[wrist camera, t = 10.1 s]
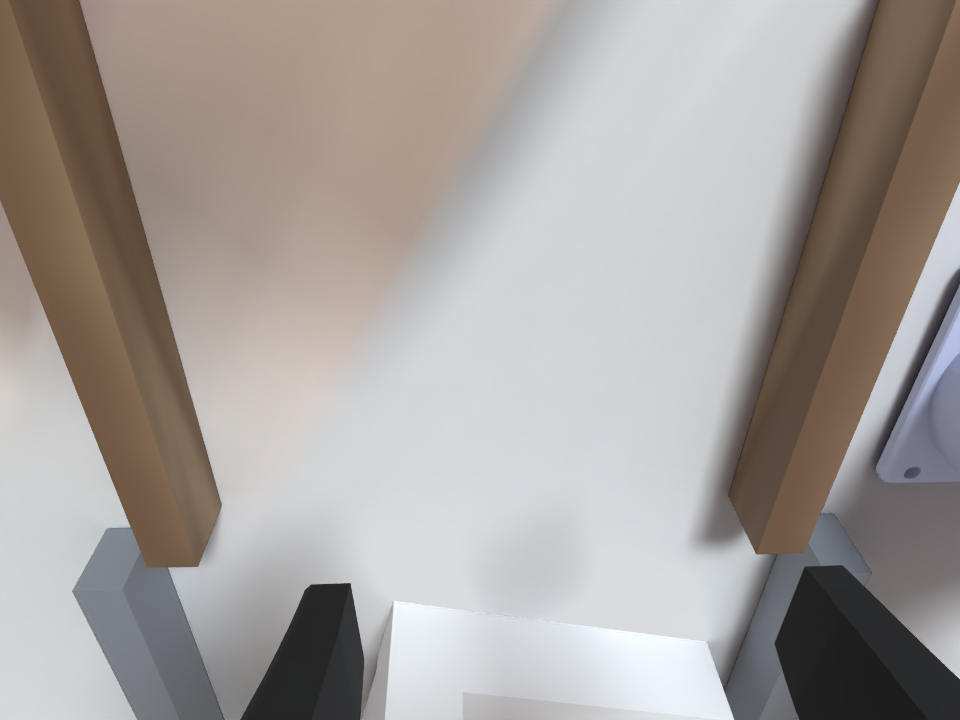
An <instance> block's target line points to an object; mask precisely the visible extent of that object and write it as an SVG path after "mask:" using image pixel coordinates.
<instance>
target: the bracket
mask: <svg viewBox="0 0 960 720" xmlns="http://www.w3.org/2000/svg"><path fill="white" fill-rule="evenodd" d="M362 720H734V718H733V715H732V712H731V709H730V706H729V704H728V701H727V698H726V695H725V692H724V690H723V687H722V684H721V681H720V678H719V676H718V673H717V670H716V667H715V664H714V661H713V659H712V656H711V653H710V650H709V647H708V645H707V642H704V641H696V640H688V639H681V638H673V637H665V636H658V635H650V634H642V633H635V632H627V631H620V630H612V629H604V628H597V627H589V626H581V625H574V624H566V623H558V622H551V621H543V620H535V619H528V618H520V617H512V616H505V615H497V614H489V613H482V612H474V611H466V610H459V609H451V608H443V607H436V606H428V605H421V604H413V603H405V602H398V601H394V603H393V606H392V610H391V613H390V616H389V619H388V623H387V626H386V629H385V633H384V636H383V639H382V643H381V646H380V649H379V653H378V658H377V669H376V673H375V677H374V680H373V683H372V687H371V690H370V693H369V696H368V700H367V703H366V706H365V710H364V713H363V716H362Z"/></svg>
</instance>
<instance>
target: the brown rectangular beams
mask: <svg viewBox="0 0 960 720" xmlns="http://www.w3.org/2000/svg"><path fill="white" fill-rule="evenodd" d="M959 182H960V0H879V3H878V6H877V9H876V13H875V16H874V19H873V23H872V26H871V29H870V32H869V36H868V39H867V42H866V46H865V49H864V52H863V55H862V59H861V62H860V65H859V69H858V72H857V75H856V78H855V82H854V85H853V88H852V92H851V95H850V98H849V101H848V105H847V108H846V111H845V115H844V118H843V121H842V124H841V128H840V131H839V134H838V138H837V141H836V144H835V147H834V151H833V154H832V157H831V161H830V164H829V167H828V170H827V174H826V177H825V180H824V184H823V187H822V190H821V193H820V197H819V200H818V203H817V207H816V210H815V213H814V216H813V220H812V223H811V226H810V229H809V233H808V236H807V239H806V243H805V246H804V249H803V252H802V256H801V259H800V262H799V266H798V269H797V272H796V275H795V279H794V282H793V285H792V289H791V292H790V295H789V298H788V302H787V305H786V308H785V312H784V315H783V318H782V321H781V325H780V328H779V331H778V335H777V338H776V341H775V344H774V348H773V351H772V354H771V358H770V361H769V364H768V367H767V371H766V374H765V377H764V381H763V384H762V387H761V390H760V394H759V397H758V400H757V404H756V407H755V410H754V413H753V417H752V420H751V423H750V427H749V430H748V433H747V436H746V440H745V443H744V446H743V450H742V453H741V456H740V459H739V463H738V466H737V469H736V473H735V476H734V479H733V482H732V486H731V489H730V492H729V498H730V500H731V502H732V504H733V507H734V509H735V511H736V513H737V515H738V517H739V519H740V521H741V523H742V525H743V527H744V530H745V532H746V534H747V536H748V538H749V540H750V542H751V544H752V546H753V548H754V551H755V553H756V554H796V553H804V552H805V550H806V547H807V545H808V542H809V540H810V538H811V535H812V533H813V530H814V528H815V526H816V523H817V521H818V519H819V516H820V514H821V511H822V509H823V507H824V504H825V502H826V499H827V497H828V495H829V492H830V490H831V488H832V485H833V483H834V480H835V478H836V476H837V473H838V471H839V468H840V466H841V464H842V461H843V459H844V457H845V454H846V452H847V449H848V447H849V445H850V442H851V440H852V437H853V435H854V433H855V430H856V428H857V426H858V423H859V421H860V418H861V416H862V414H863V411H864V409H865V406H866V404H867V402H868V399H869V397H870V394H871V392H872V390H873V387H874V385H875V383H876V380H877V378H878V375H879V373H880V371H881V368H882V366H883V363H884V361H885V359H886V356H887V354H888V352H889V349H890V347H891V344H892V342H893V340H894V337H895V335H896V332H897V330H898V328H899V325H900V323H901V321H902V318H903V316H904V313H905V311H906V309H907V306H908V304H909V301H910V299H911V297H912V294H913V292H914V290H915V287H916V285H917V282H918V280H919V278H920V275H921V273H922V270H923V268H924V266H925V263H926V261H927V259H928V256H929V254H930V251H931V249H932V247H933V244H934V242H935V239H936V237H937V235H938V232H939V230H940V228H941V225H942V223H943V220H944V218H945V216H946V213H947V211H948V208H949V206H950V204H951V201H952V199H953V197H954V194H955V192H956V189H957V187H958V185H959ZM0 200H1V203H2V205H3V208H4V210H5V213H6V215H7V218H8V220H9V223H10V225H11V228H12V230H13V233H14V235H15V238H16V240H17V243H18V245H19V248H20V251H21V253H22V256H23V258H24V261H25V263H26V266H27V268H28V271H29V273H30V276H31V278H32V281H33V283H34V286H35V288H36V291H37V293H38V296H39V298H40V301H41V303H42V306H43V308H44V311H45V313H46V316H47V318H48V321H49V323H50V326H51V328H52V331H53V333H54V336H55V338H56V341H57V343H58V346H59V348H60V351H61V353H62V356H63V358H64V361H65V363H66V366H67V368H68V371H69V373H70V376H71V378H72V381H73V383H74V386H75V388H76V391H77V393H78V396H79V398H80V401H81V403H82V406H83V408H84V411H85V413H86V416H87V419H88V421H89V424H90V426H91V429H92V431H93V434H94V436H95V439H96V441H97V444H98V446H99V449H100V451H101V454H102V456H103V459H104V461H105V464H106V466H107V469H108V471H109V474H110V476H111V479H112V481H113V484H114V486H115V489H116V491H117V494H118V496H119V499H120V501H121V504H122V506H123V509H124V511H125V514H126V516H127V519H128V521H129V524H130V526H131V529H132V531H133V534H134V536H135V539H136V541H137V544H138V546H139V549H140V551H141V554H142V556H143V559H144V561H145V564H146V566H147V568H159V567H198V565H199V563H200V560H201V558H202V555H203V552H204V550H205V547H206V545H207V542H208V539H209V537H210V534H211V532H212V529H213V526H214V524H215V521H216V518H217V516H218V513H219V511H220V508H221V501H220V498H219V494H218V491H217V487H216V484H215V480H214V477H213V473H212V470H211V466H210V462H209V459H208V455H207V452H206V448H205V445H204V441H203V438H202V434H201V431H200V427H199V424H198V420H197V417H196V413H195V409H194V406H193V402H192V399H191V395H190V392H189V388H188V385H187V381H186V378H185V374H184V371H183V367H182V363H181V360H180V356H179V353H178V349H177V346H176V342H175V339H174V335H173V332H172V328H171V325H170V321H169V318H168V314H167V310H166V307H165V303H164V300H163V296H162V293H161V289H160V286H159V282H158V279H157V275H156V272H155V268H154V264H153V261H152V257H151V254H150V250H149V247H148V243H147V240H146V236H145V233H144V229H143V226H142V222H141V219H140V215H139V211H138V208H137V204H136V201H135V197H134V194H133V190H132V187H131V183H130V180H129V176H128V173H127V169H126V165H125V162H124V158H123V155H122V151H121V148H120V144H119V141H118V137H117V134H116V130H115V127H114V123H113V120H112V116H111V112H110V109H109V105H108V102H107V98H106V95H105V91H104V88H103V84H102V81H101V77H100V74H99V70H98V66H97V63H96V59H95V56H94V52H93V49H92V45H91V42H90V38H89V35H88V31H87V28H86V24H85V21H84V17H83V13H82V10H81V6H80V3H79V0H0Z"/></svg>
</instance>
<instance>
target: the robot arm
mask: <svg viewBox="0 0 960 720" xmlns="http://www.w3.org/2000/svg"><path fill="white" fill-rule="evenodd" d="M876 472H877V474H878V476H879V477H880V478H881V480H882V481H884V482H886V483H936V482H960V285H959V287H958V290H957V292H956V294H955V296H954V298H953V300H952V303H951V305H950V307H949V309H948V311H947V314H946V316H945V318H944V320H943V322H942V324H941V327H940V329H939V331H938V333H937V335H936V337H935V340H934V342H933V344H932V346H931V348H930V351H929V353H928V355H927V357H926V359H925V361H924V364H923V366H922V368H921V370H920V372H919V374H918V377H917V379H916V381H915V383H914V385H913V388H912V390H911V392H910V394H909V396H908V398H907V401H906V403H905V405H904V407H903V409H902V411H901V414H900V416H899V418H898V420H897V422H896V425H895V427H894V429H893V431H892V433H891V435H890V438H889V440H888V442H887V444H886V446H885V449H884V451H883V453H882V455H881V457H880V459H879V462H878V464H877V466H876ZM774 644H775V647H776V651H777V654H778V657H779V661H780V664H781V667H782V671H783V674H784V677H785V680H786V683H787V686H788V689H789V692H790V695H791V698H792V701H793V704H794V707H795V710H796V713H797V715H798V717H799V720H960V679H959V678H958V677H957V676H956V675H955V674H953V673H952V672H951V671H950V670H949V669H948V668H947V667H946V666H945V665H944V664H943V663H942V662H941V661H940V660H939V659H938V658H937V657H936V656H935V655H934V654H933V653H931V652H930V651H929V650H928V649H927V648H926V647H925V646H924V645H923V644H922V643H921V642H920V641H919V640H918V639H917V638H916V637H915V636H914V635H913V634H912V633H911V632H910V631H909V630H908V629H907V628H906V627H905V626H904V625H903V624H902V623H901V622H900V621H899V620H898V619H897V618H896V617H895V616H894V615H893V614H892V613H891V612H890V611H889V610H888V609H887V608H886V607H885V606H884V605H883V604H882V603H881V602H880V601H879V600H878V599H877V598H875V597H874V596H873V595H872V594H871V593H870V592H869V591H868V590H867V589H866V588H865V587H864V586H863V585H862V584H861V583H860V582H859V581H858V580H857V579H856V578H855V577H854V576H853V575H852V574H851V573H850V572H849V571H848V570H847V569H846V568H845V567H844V566H843V565H832V566H805V567H804V569H803V572H802V574H801V577H800V580H799V582H798V585H797V587H796V590H795V592H794V595H793V597H792V600H791V602H790V605H789V607H788V610H787V613H786V615H785V618H784V620H783V623H782V625H781V628H780V630H779V633H778V635H777V638H776V640H775V643H774ZM363 671H364V656H363V650H362V644H361V639H360V633H359V628H358V622H357V617H356V611H355V606H354V600H353V595H352V589H351V584H350V583H344V584H317V585H310V586H309V587H308V588H307V589H306V590H305V591H304V594H303V596H302V599H301V601H300V603H299V606H298V608H297V610H296V613H295V615H294V617H293V619H292V621H291V624H290V626H289V628H288V630H287V632H286V634H285V636H284V638H283V640H282V642H281V645H280V647H279V649H278V651H277V652H276V654H275V656H274V658H273V660H272V662H271V664H270V666H269V668H268V670H267V672H266V674H265V676H264V678H263V680H262V682H261V683H260V685H259V687H258V689H257V691H256V692H255V694H254V696H253V698H252V700H251V701H250V703H249V705H248V707H247V709H246V711H245V712H244V714H243V716H242V718H241V720H360V714H361V701H362V686H363Z"/></svg>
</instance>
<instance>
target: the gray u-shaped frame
mask: <svg viewBox="0 0 960 720" xmlns="http://www.w3.org/2000/svg"><path fill="white" fill-rule="evenodd" d="M832 565H843V566H844V567H845V568H846V569H847V570H848V571H849V572H850V573H851V574H852V575H853V576H854V577H855V578H856V579H857V580H858V581H859V582H860V583H861V584H862V585H863V586H864V587H865V585H866V583H867V581H868V579H869V577H870V575H871V573H872V572H871V571H870V569H869V568H868V566H867V564H866V563H865V561H864V560H863V558H862V557H861V555H860V553H859V552H858V550H857V549H856V547H855V546H854V544H853V542H852V541H851V539H850V538H849V536H848V535H847V533H846V532H845V530H844V528H843V527H842V525H841V524H840V522H839V521H838V519H837V517H836V516H835V514H822V515H820V516H819V519H818V521H817V523H816V526H815V528H814V530H813V533H812V535H811V538H810V540H809V542H808V545H807V547H806V550H805V552H804V553H796V554H777V556H776V559H775V562H774V564H773V567H772V569H771V572H770V575H769V577H768V580H767V582H766V585H765V588H764V590H763V593H762V595H761V598H760V600H759V603H758V606H757V608H756V611H755V613H754V616H753V619H752V621H751V624H750V626H749V629H748V631H747V634H746V637H745V639H744V642H743V644H742V647H741V650H740V652H739V655H738V657H737V660H736V662H735V665H734V668H733V670H732V673H731V675H730V678H729V681H728V683H727V686H726V688H725V691H724V692H725V695H726V698H727V701H728V704H729V706H730V709H731V712H732V715H733V718H734V720H796V719H797V717H798V715H797V713H796V710H795V707H794V704H793V701H792V698H791V695H790V692H789V689H788V686H787V683H786V680H785V677H784V674H783V671H782V667H781V664H780V661H779V657H778V654H777V651H776V647H775V644H774V643H775V640H776V638H777V635H778V633H779V630H780V628H781V625H782V623H783V620H784V618H785V615H786V613H787V610H788V607H789V605H790V602H791V600H792V597H793V595H794V592H795V590H796V587H797V585H798V582H799V580H800V577H801V574H802V572H803V569H804V567H805V566H832ZM72 592H73V594H74V596H75V598H76V600H77V602H78V604H79V605H80V607H81V609H82V611H83V613H84V615H85V617H86V619H87V621H88V623H89V625H90V627H91V629H92V631H93V633H94V635H95V637H96V639H97V641H98V643H99V645H100V647H101V649H102V651H103V653H104V655H105V657H106V659H107V661H108V663H109V665H110V667H111V669H112V670H113V672H114V674H115V676H116V678H117V680H118V682H119V684H120V686H121V688H122V690H123V692H124V694H125V696H126V698H127V700H128V702H129V704H130V706H131V708H132V710H133V712H134V714H135V716H136V718H137V720H224V718H223V716H222V713H221V710H220V708H219V705H218V702H217V700H216V697H215V694H214V692H213V689H212V686H211V683H210V681H209V678H208V675H207V673H206V670H205V667H204V665H203V662H202V659H201V657H200V654H199V651H198V649H197V646H196V643H195V641H194V638H193V635H192V633H191V630H190V627H189V625H188V622H187V619H186V616H185V614H184V611H183V608H182V606H181V603H180V600H179V598H178V595H177V592H176V590H175V587H174V584H173V582H172V579H171V576H170V574H169V571H168V568H167V567H159V568H147V566H146V564H145V561H144V559H143V556H142V554H141V551H140V549H139V546H138V544H137V541H136V539H135V536H134V534H133V531H132V529H131V528H112V529H106V531H105V533H104V535H103V537H102V538H101V540H100V542H99V544H98V546H97V547H96V549H95V551H94V553H93V555H92V556H91V558H90V560H89V562H88V564H87V565H86V567H85V569H84V571H83V573H82V574H81V576H80V578H79V580H78V582H77V584H76V585H75V587H74V589H73V591H72Z"/></svg>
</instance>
